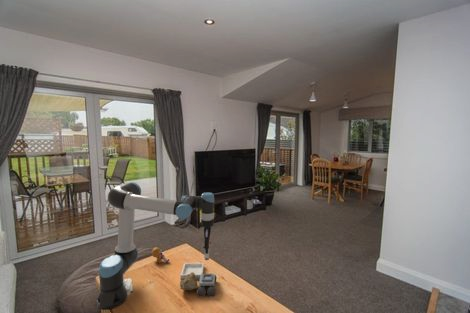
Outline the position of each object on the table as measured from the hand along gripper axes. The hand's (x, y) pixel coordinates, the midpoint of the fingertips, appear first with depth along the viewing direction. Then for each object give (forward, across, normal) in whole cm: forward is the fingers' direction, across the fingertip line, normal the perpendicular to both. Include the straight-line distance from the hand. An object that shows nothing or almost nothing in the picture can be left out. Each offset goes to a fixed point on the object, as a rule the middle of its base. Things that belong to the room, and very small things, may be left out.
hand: (206, 256), depth 135 cm
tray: (+21, +16, +10) cm, 29 cm away
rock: (+21, +1, +11) cm, 24 cm away
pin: (+2, 0, 0) cm, 2 cm away
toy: (+22, +30, +37) cm, 52 cm away
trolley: (+21, 0, 0) cm, 21 cm away
